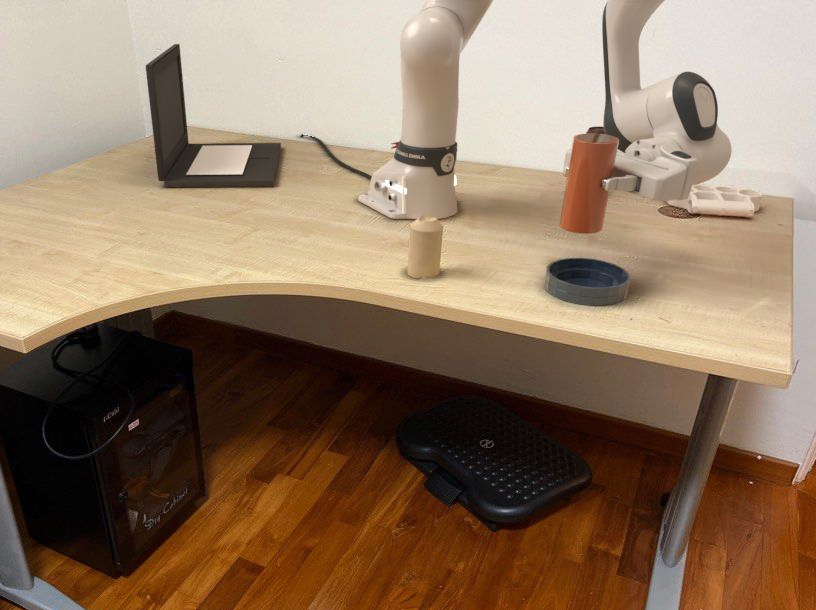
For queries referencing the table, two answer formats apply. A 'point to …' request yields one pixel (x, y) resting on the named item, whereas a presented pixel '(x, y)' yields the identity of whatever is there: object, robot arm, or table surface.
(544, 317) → the table surface
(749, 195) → the white brass knuckles
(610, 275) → the bowl
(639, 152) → the robot arm
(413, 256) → the candle
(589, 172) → the tumbler
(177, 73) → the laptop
